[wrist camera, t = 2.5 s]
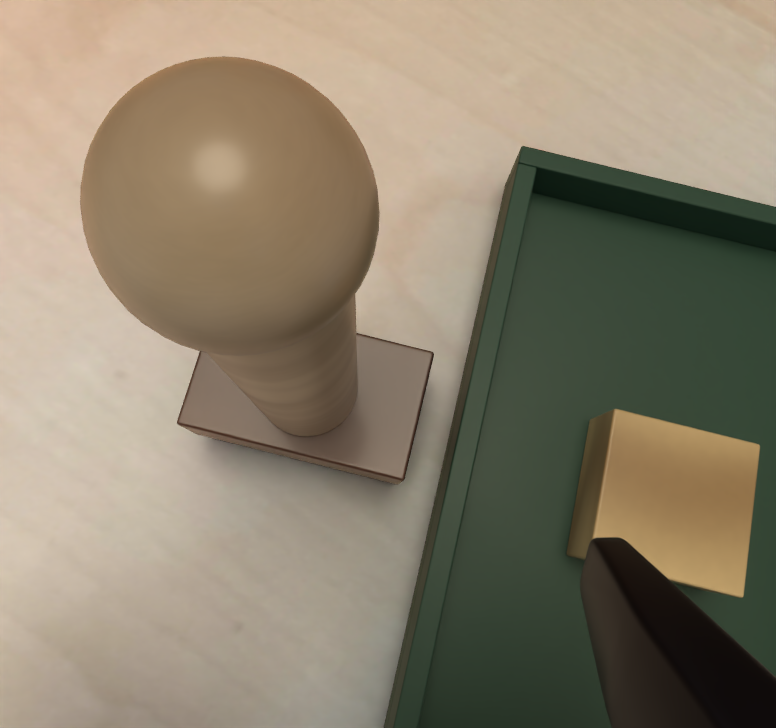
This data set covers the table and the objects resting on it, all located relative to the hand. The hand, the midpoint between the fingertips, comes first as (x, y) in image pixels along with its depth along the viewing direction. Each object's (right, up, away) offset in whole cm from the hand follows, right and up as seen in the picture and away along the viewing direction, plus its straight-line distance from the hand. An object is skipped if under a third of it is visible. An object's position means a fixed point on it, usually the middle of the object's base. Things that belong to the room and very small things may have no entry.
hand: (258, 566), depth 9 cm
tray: (+9, -1, +11) cm, 14 cm away
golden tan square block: (+9, -1, +10) cm, 14 cm away
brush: (-1, +1, +11) cm, 11 cm away
